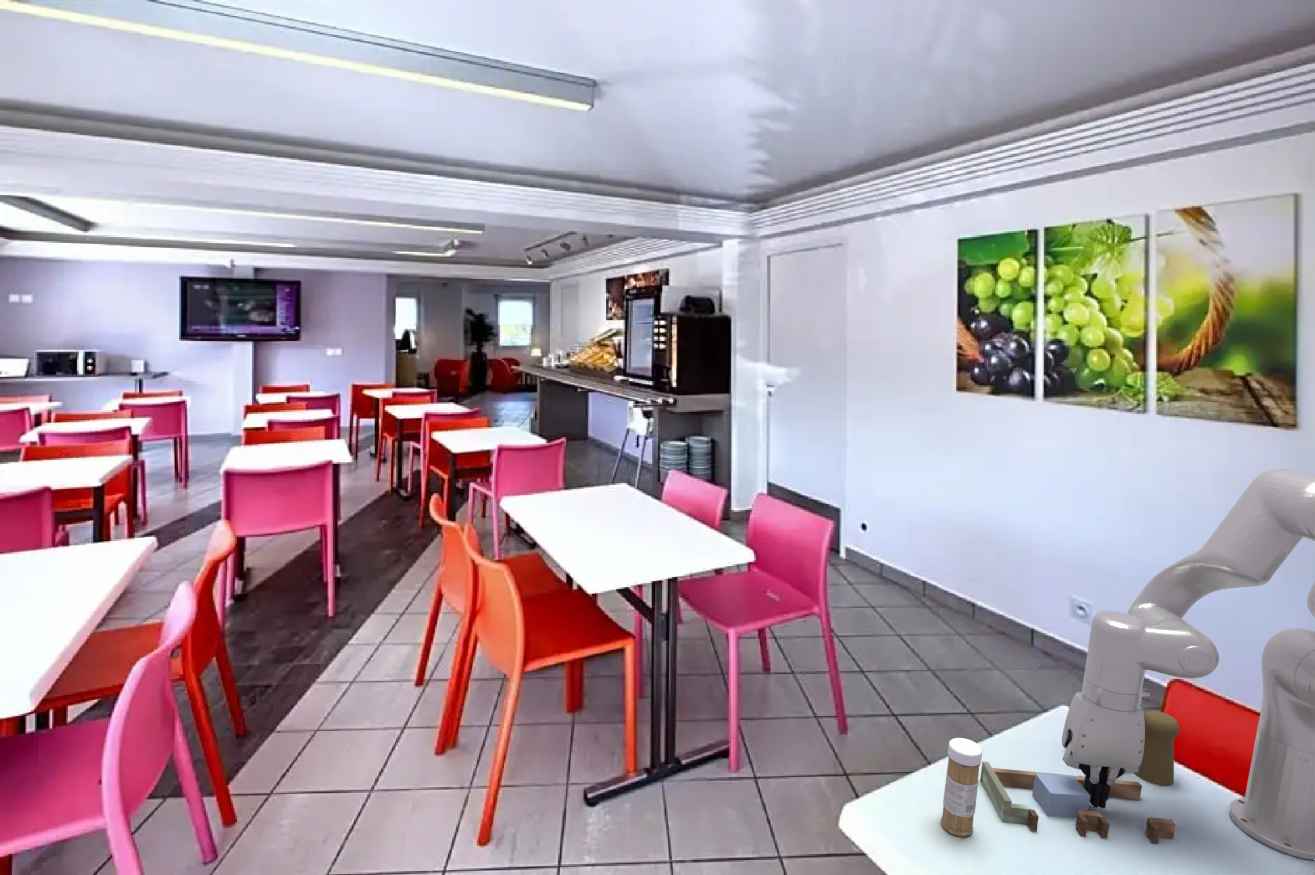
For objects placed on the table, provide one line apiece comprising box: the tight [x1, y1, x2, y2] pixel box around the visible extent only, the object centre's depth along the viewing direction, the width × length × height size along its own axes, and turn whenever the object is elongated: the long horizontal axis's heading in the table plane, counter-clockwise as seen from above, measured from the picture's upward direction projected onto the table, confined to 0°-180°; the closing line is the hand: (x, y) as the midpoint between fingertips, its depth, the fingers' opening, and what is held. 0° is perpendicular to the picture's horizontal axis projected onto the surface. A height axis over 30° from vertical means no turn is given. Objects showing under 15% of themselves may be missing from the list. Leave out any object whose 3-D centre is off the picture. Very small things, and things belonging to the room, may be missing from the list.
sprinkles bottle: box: [940, 737, 983, 838], centre depth 105 cm, size 5×5×13 cm
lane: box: [979, 760, 1177, 845], centre depth 111 cm, size 24×12×4 cm, turn 84°
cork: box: [1133, 710, 1180, 787], centre depth 120 cm, size 6×6×11 cm
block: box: [1031, 772, 1090, 819], centre depth 112 cm, size 6×5×4 cm
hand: (1094, 802), depth 111 cm, fingers closed
